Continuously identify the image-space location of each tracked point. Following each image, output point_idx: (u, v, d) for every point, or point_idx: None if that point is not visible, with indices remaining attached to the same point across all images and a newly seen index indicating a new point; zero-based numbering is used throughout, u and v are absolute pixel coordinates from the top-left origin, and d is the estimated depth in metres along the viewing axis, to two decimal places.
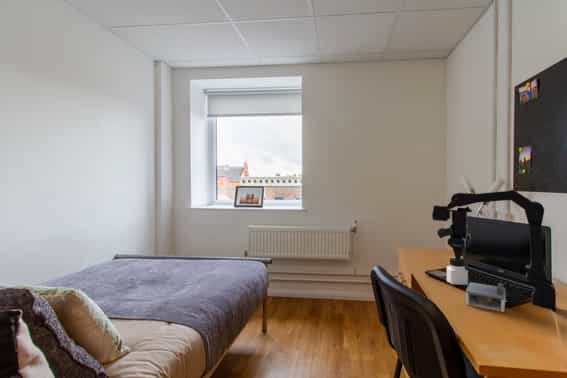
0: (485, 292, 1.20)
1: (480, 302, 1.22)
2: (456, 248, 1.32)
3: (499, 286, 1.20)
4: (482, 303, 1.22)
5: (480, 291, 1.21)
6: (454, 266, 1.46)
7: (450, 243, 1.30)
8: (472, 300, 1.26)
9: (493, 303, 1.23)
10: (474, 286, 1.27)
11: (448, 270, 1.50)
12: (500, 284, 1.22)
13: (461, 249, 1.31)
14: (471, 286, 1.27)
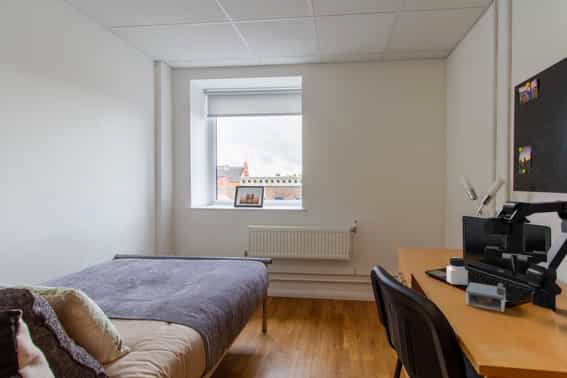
0: (485, 292, 1.20)
1: (480, 302, 1.22)
2: None
3: (499, 286, 1.20)
4: (482, 303, 1.22)
5: (480, 291, 1.21)
6: (454, 266, 1.46)
7: None
8: (472, 300, 1.26)
9: (493, 303, 1.23)
10: (474, 286, 1.27)
11: (448, 270, 1.50)
12: (500, 284, 1.22)
13: None
14: (471, 286, 1.27)
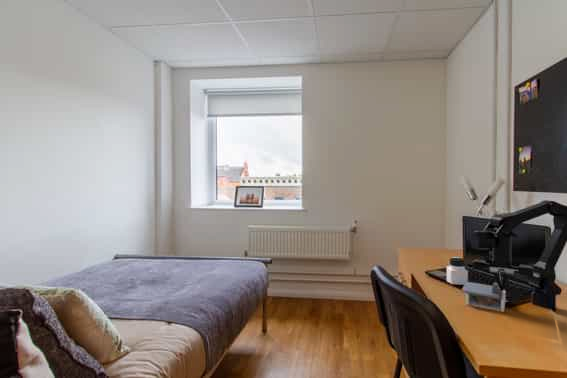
0: (480, 291, 1.21)
1: (480, 302, 1.22)
2: None
3: (494, 285, 1.21)
4: (482, 303, 1.22)
5: (476, 290, 1.22)
6: (454, 266, 1.46)
7: None
8: (472, 300, 1.26)
9: (493, 303, 1.23)
10: (470, 285, 1.28)
11: (448, 270, 1.50)
12: (495, 283, 1.23)
13: None
14: (467, 285, 1.28)
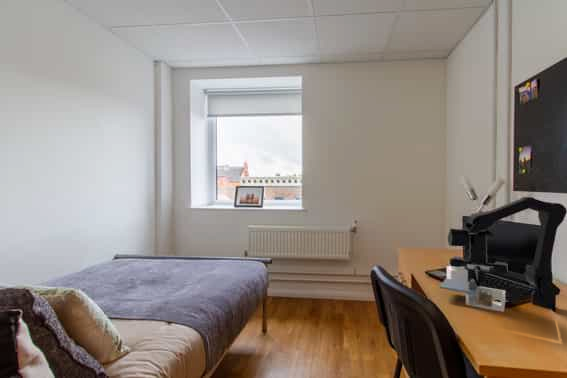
0: (458, 287, 1.26)
1: (480, 302, 1.22)
2: None
3: (471, 282, 1.25)
4: (482, 303, 1.22)
5: (453, 287, 1.27)
6: None
7: None
8: (472, 300, 1.26)
9: (493, 303, 1.23)
10: (449, 282, 1.32)
11: (448, 270, 1.50)
12: (473, 280, 1.28)
13: None
14: (446, 282, 1.32)
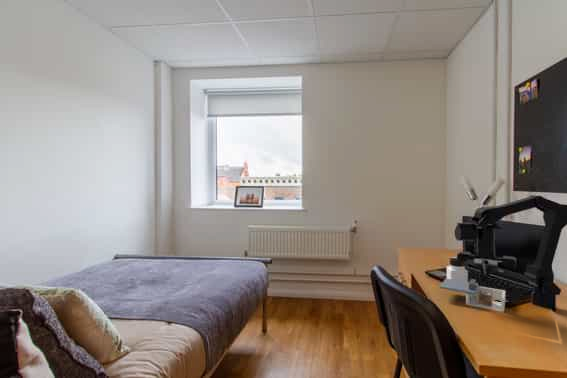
0: (458, 287, 1.26)
1: (480, 302, 1.22)
2: None
3: (471, 282, 1.25)
4: (482, 303, 1.22)
5: (453, 286, 1.27)
6: (454, 266, 1.46)
7: None
8: (472, 300, 1.26)
9: (493, 303, 1.23)
10: (449, 282, 1.32)
11: (448, 270, 1.50)
12: (473, 280, 1.28)
13: None
14: (446, 282, 1.32)
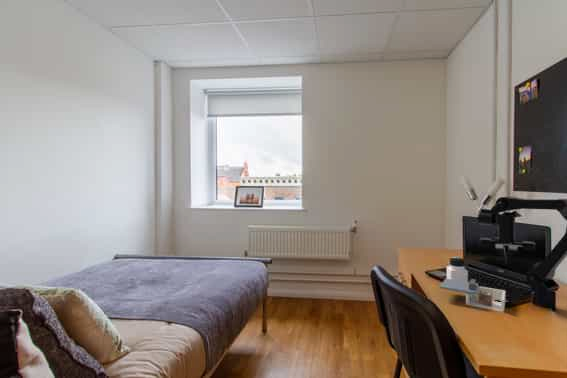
0: (458, 287, 1.26)
1: (480, 302, 1.22)
2: None
3: (471, 282, 1.25)
4: (482, 303, 1.22)
5: (453, 286, 1.27)
6: (454, 266, 1.46)
7: None
8: (472, 300, 1.26)
9: (493, 303, 1.23)
10: (449, 282, 1.32)
11: (448, 270, 1.50)
12: (473, 280, 1.28)
13: None
14: (446, 282, 1.32)
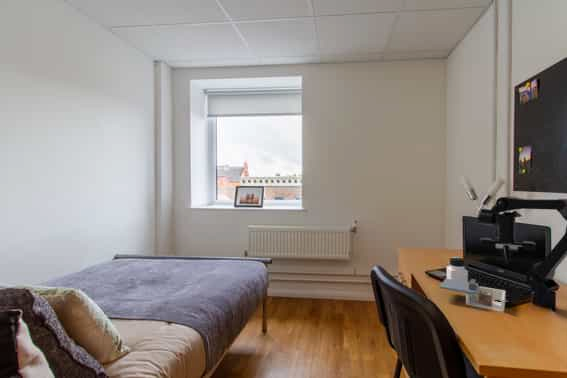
0: (458, 287, 1.26)
1: (480, 302, 1.22)
2: None
3: (471, 282, 1.25)
4: (482, 303, 1.22)
5: (453, 286, 1.27)
6: (454, 266, 1.46)
7: None
8: (472, 300, 1.26)
9: (493, 303, 1.23)
10: (449, 282, 1.32)
11: (448, 270, 1.50)
12: (473, 280, 1.28)
13: None
14: (446, 282, 1.32)
